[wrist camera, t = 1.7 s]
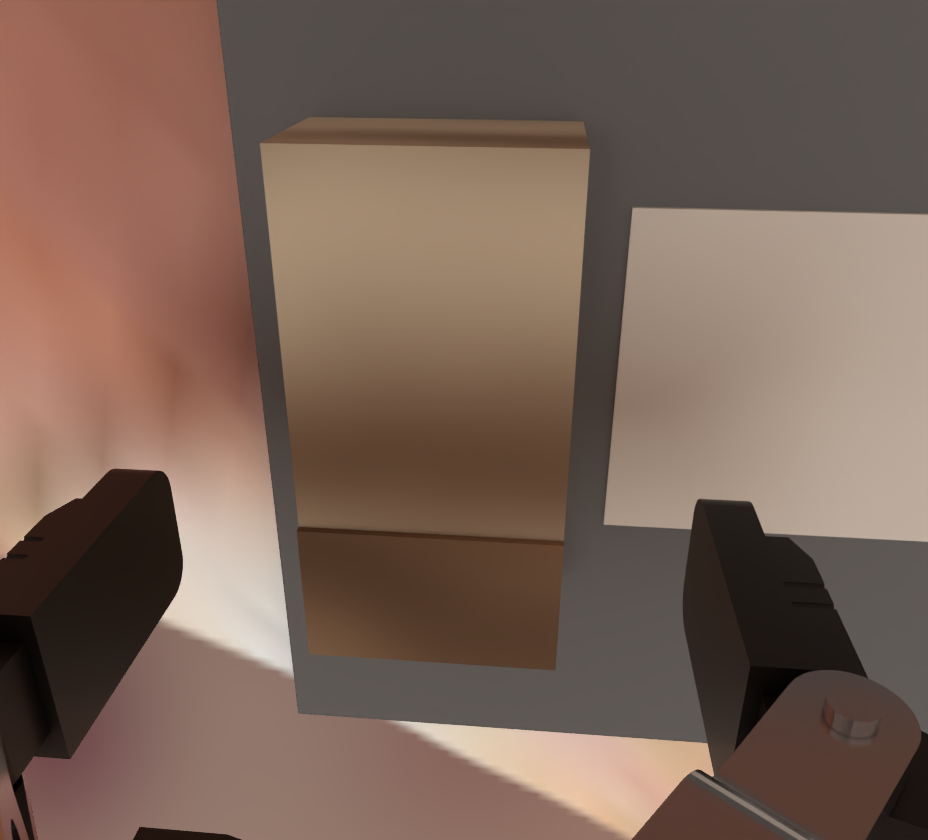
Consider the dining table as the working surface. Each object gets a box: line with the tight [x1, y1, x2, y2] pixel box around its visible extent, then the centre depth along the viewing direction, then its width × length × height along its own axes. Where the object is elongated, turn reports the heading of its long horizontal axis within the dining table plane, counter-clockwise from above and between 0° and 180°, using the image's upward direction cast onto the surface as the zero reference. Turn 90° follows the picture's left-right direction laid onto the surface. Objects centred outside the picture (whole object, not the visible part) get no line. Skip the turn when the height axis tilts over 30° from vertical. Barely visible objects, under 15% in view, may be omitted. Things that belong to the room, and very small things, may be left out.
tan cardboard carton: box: [260, 117, 590, 671], centre depth 16 cm, size 10×5×3 cm, turn 0°
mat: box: [217, 0, 928, 743], centre depth 17 cm, size 20×20×1 cm
